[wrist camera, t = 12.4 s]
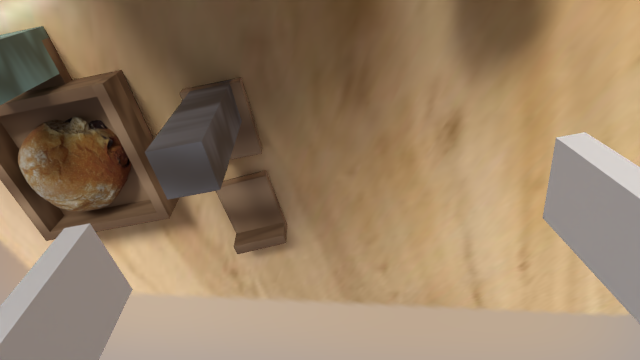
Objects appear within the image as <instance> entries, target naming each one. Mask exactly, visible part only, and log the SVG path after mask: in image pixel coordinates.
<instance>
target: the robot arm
mask: <svg viewBox="0 0 640 360" xmlns="http://www.w3.org/2000/svg"><path fill="white" fill-rule="evenodd" d="M543 219H544V220H545V221H546V222H547V223H548V224H549V225H550V226H551V227H552V228H553V230H554V231H555V232H556V233H557V234H558V235H559V236H560V237H561V238H562V239H563V241H564V242H565V243H566V244H567V245H568V246H569V247H570V248H571V249H572V250H573V251H574V253H575V254H576V255H577V256H578V257H579V258H580V259H581V260H582V261H583V262H584V263H585V265H586V266H587V267H588V268H589V269H590V270H591V271H592V272H593V273H594V274H595V276H596V277H597V278H598V279H599V280H600V281H601V282H602V283H603V284H604V285H605V286H606V288H607V289H608V290H609V291H610V292H611V293H612V294H613V295H614V296H615V297H616V299H617V300H618V301H619V302H620V303H621V304H622V305H623V306H624V307H625V308H626V309H627V311H628V312H629V313H630V314H631V315H632V316H633V317H634V318H635V319H636V320H637V321H638V322H639V324H640V167H639V166H637V165H636V164H634V163H632V162H631V161H629V160H628V159H626V158H625V157H623V156H622V155H620V154H618V153H617V152H615V151H614V150H612V149H611V148H609V147H607V146H606V145H604V144H603V143H601V142H600V141H598V140H596V139H595V138H593V137H592V136H590V135H589V134H587V133H585V132H584V133H579V134H573V135H568V136H562V137H557V138H556V142H555V147H554V153H553V159H552V165H551V171H550V177H549V183H548V189H547V195H546V201H545V207H544V213H543ZM131 291H132V288H131V286H130V285H129V283H128V282H127V280H126V278H125V277H124V275H123V274H122V272H121V271H120V269H119V268H118V266H117V265H116V263H115V261H114V260H113V258H112V257H111V255H110V254H109V252H108V251H107V249H106V247H105V246H104V244H103V243H102V241H101V240H100V238H99V237H98V235H97V234H96V232H95V230H94V229H93V227H92V226H91V224H90V223H89V224H84V225H79V226H73V227H68V228H64V229H63V230H62V232H61V233H60V234H59V235H58V237H57V238H56V239H55V240H54V241H53V243H52V244H51V245H50V246H49V247H48V249H47V250H46V251H45V252H44V253H43V255H42V256H41V257H40V258H39V260H38V261H37V262H36V263H35V264H34V266H33V267H32V268H31V269H30V270H29V272H28V273H27V274H26V275H25V277H24V278H23V279H22V280H21V281H20V283H19V284H18V285H17V286H16V288H15V289H14V290H13V291H12V292H11V294H10V295H9V296H8V297H7V298H6V300H5V301H4V302H3V303H2V304H1V306H0V360H99V358H100V356H101V354H102V352H103V350H104V348H105V346H106V344H107V342H108V339H109V337H110V335H111V333H112V331H113V329H114V327H115V325H116V323H117V320H118V318H119V316H120V314H121V312H122V310H123V308H124V306H125V304H126V301H127V300H128V298H129V295H130V293H131Z"/></svg>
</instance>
